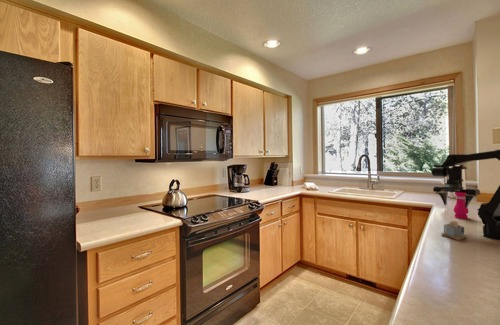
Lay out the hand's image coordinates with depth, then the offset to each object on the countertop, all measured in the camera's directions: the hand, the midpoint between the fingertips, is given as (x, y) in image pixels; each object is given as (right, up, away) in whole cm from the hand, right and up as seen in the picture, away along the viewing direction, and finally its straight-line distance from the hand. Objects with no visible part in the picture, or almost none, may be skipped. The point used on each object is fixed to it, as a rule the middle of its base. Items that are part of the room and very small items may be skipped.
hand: (455, 206), depth 131 cm
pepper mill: (+24, -12, +24) cm, 36 cm away
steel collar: (-12, -11, -13) cm, 21 cm away
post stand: (-12, -12, -13) cm, 22 cm away
